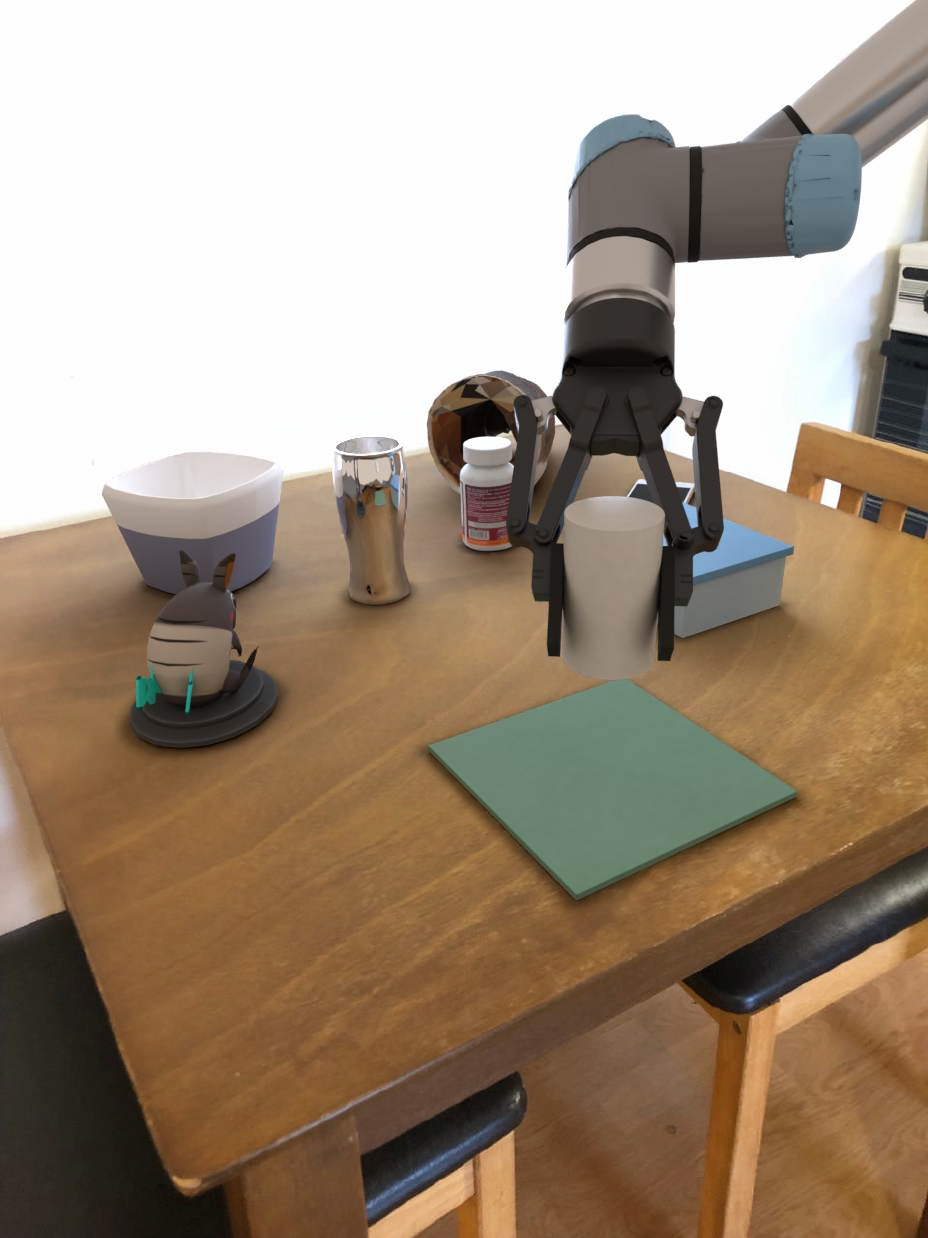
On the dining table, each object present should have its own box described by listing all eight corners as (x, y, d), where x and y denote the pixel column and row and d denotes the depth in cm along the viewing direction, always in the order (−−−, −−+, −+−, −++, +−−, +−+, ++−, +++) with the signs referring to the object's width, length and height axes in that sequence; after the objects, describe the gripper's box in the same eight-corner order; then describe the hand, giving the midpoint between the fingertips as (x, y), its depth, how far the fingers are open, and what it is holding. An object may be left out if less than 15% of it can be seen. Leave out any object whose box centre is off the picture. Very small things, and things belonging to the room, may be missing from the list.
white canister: (674, 664, 60) (686, 516, 55) (599, 690, 57) (605, 537, 53) (615, 628, 64) (621, 489, 60) (543, 651, 62) (544, 507, 57)
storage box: (786, 606, 87) (794, 546, 84) (682, 641, 81) (687, 578, 79) (678, 555, 99) (682, 501, 96) (580, 583, 93) (581, 527, 90)
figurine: (100, 742, 70) (66, 601, 65) (179, 665, 81) (154, 538, 75) (239, 757, 68) (214, 612, 63) (301, 676, 78) (285, 546, 73)
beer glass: (360, 575, 97) (347, 432, 90) (423, 581, 95) (415, 436, 88) (333, 603, 91) (317, 453, 84) (400, 610, 89) (389, 457, 82)
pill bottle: (527, 546, 102) (527, 445, 97) (476, 556, 100) (474, 454, 95) (502, 528, 107) (500, 431, 102) (453, 538, 105) (449, 440, 100)
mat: (796, 797, 62) (797, 791, 61) (576, 901, 54) (576, 894, 54) (623, 681, 76) (623, 676, 75) (428, 751, 68) (428, 745, 68)
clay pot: (573, 363, 131) (538, 364, 108) (581, 472, 135) (550, 496, 112) (472, 375, 136) (418, 378, 112) (482, 480, 139) (432, 505, 116)
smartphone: (695, 489, 117) (695, 482, 117) (673, 532, 104) (674, 524, 104) (638, 485, 119) (638, 477, 119) (610, 526, 107) (611, 518, 106)
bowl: (201, 539, 107) (185, 445, 102) (312, 559, 101) (301, 459, 96) (101, 591, 95) (77, 487, 90) (220, 617, 89) (202, 506, 84)
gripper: (752, 358, 66) (759, 675, 59) (485, 359, 68) (461, 663, 61) (773, 289, 59) (784, 640, 52) (474, 292, 61) (445, 627, 54)
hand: (609, 651), depth 56 cm, fingers closed on white canister, 6 cm apart
